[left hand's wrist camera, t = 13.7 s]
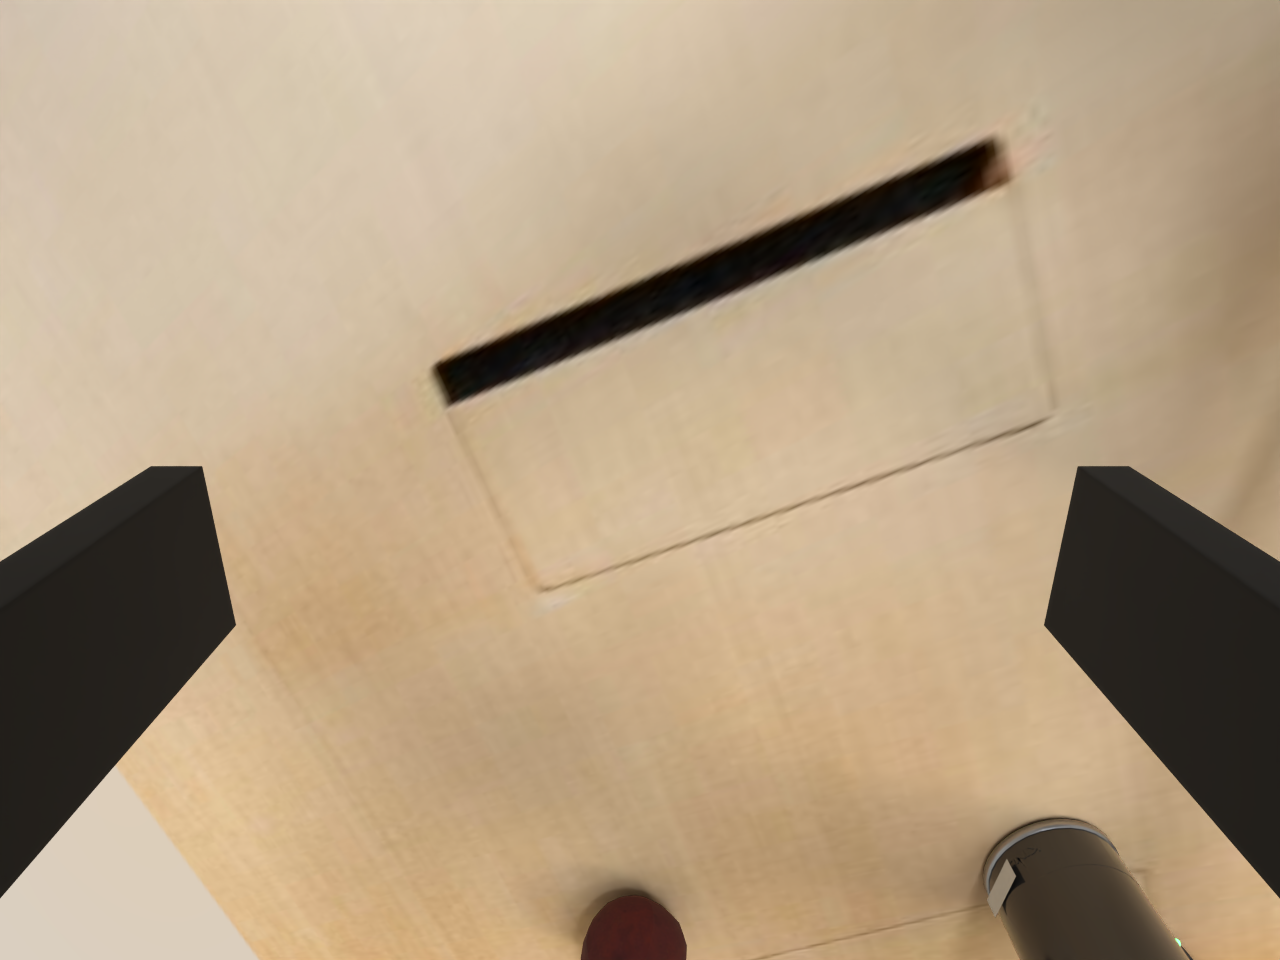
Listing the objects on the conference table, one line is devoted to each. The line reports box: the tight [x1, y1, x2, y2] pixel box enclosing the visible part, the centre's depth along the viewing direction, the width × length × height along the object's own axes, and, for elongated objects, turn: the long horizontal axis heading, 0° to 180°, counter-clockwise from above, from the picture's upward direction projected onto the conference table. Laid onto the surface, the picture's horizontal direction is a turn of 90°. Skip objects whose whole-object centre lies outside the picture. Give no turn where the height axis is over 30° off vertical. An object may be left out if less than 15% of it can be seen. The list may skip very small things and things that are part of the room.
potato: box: [581, 895, 687, 960], centre depth 57 cm, size 7×8×7 cm
